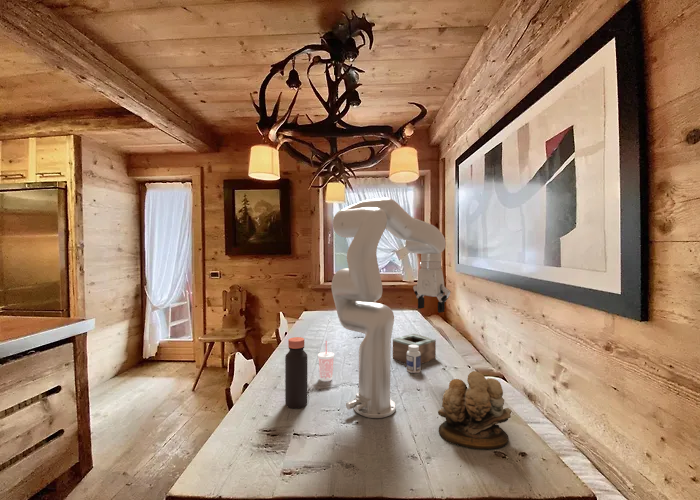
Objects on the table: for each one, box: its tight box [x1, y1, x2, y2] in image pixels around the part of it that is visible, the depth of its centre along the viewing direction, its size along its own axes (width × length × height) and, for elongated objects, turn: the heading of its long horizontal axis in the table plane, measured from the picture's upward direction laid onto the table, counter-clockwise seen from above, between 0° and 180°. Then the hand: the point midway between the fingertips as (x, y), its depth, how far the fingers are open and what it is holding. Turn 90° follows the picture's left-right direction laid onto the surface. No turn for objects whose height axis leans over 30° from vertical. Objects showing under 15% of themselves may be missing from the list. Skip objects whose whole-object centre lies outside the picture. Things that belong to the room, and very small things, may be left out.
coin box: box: [392, 333, 437, 364], centre depth 142 cm, size 14×12×8 cm
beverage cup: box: [317, 340, 335, 382], centre depth 120 cm, size 6×6×14 cm
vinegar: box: [284, 336, 308, 410], centre depth 101 cm, size 7×7×20 cm
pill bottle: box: [406, 345, 422, 374], centre depth 128 cm, size 5×5×10 cm
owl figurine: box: [437, 370, 513, 451], centre depth 84 cm, size 18×12×17 cm, turn 83°
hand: (430, 310), depth 128 cm, fingers open, 9 cm apart
